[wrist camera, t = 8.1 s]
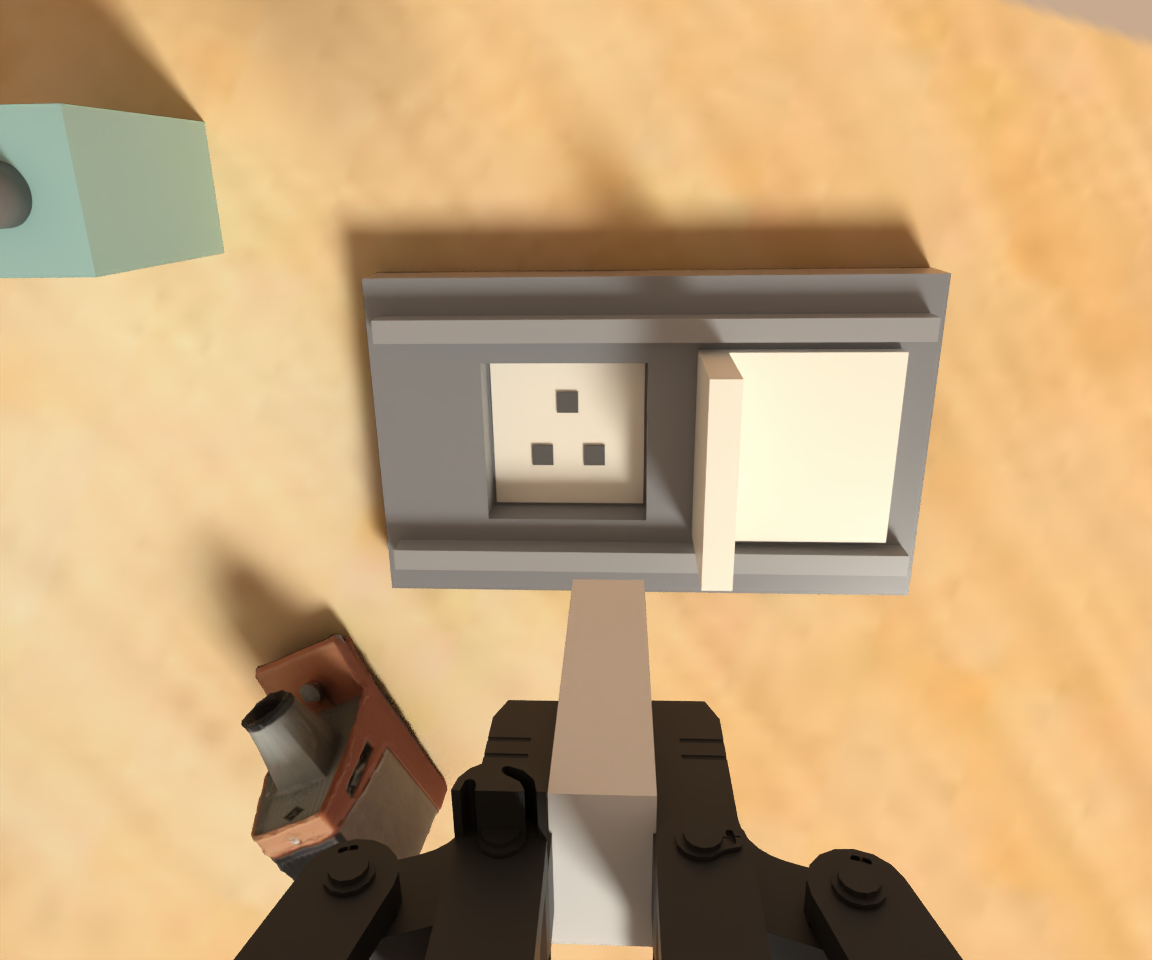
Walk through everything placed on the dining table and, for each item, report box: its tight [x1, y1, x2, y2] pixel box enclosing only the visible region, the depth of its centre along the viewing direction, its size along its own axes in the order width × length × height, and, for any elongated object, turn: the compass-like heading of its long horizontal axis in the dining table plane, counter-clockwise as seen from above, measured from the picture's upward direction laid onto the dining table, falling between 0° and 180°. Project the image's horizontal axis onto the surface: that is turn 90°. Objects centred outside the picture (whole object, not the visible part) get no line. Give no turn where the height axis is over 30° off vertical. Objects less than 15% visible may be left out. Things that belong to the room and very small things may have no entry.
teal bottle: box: [0, 103, 224, 278], centre depth 26 cm, size 4×4×10 cm
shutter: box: [692, 349, 909, 591], centre depth 28 cm, size 7×7×5 cm
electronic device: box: [241, 634, 447, 881], centre depth 35 cm, size 4×10×8 cm, turn 27°
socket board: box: [362, 267, 951, 595], centre depth 31 cm, size 20×12×3 cm, turn 91°
